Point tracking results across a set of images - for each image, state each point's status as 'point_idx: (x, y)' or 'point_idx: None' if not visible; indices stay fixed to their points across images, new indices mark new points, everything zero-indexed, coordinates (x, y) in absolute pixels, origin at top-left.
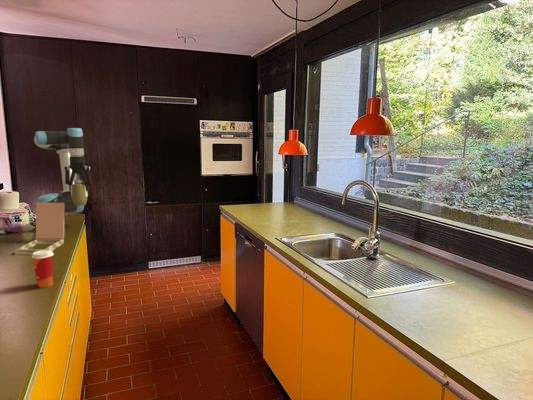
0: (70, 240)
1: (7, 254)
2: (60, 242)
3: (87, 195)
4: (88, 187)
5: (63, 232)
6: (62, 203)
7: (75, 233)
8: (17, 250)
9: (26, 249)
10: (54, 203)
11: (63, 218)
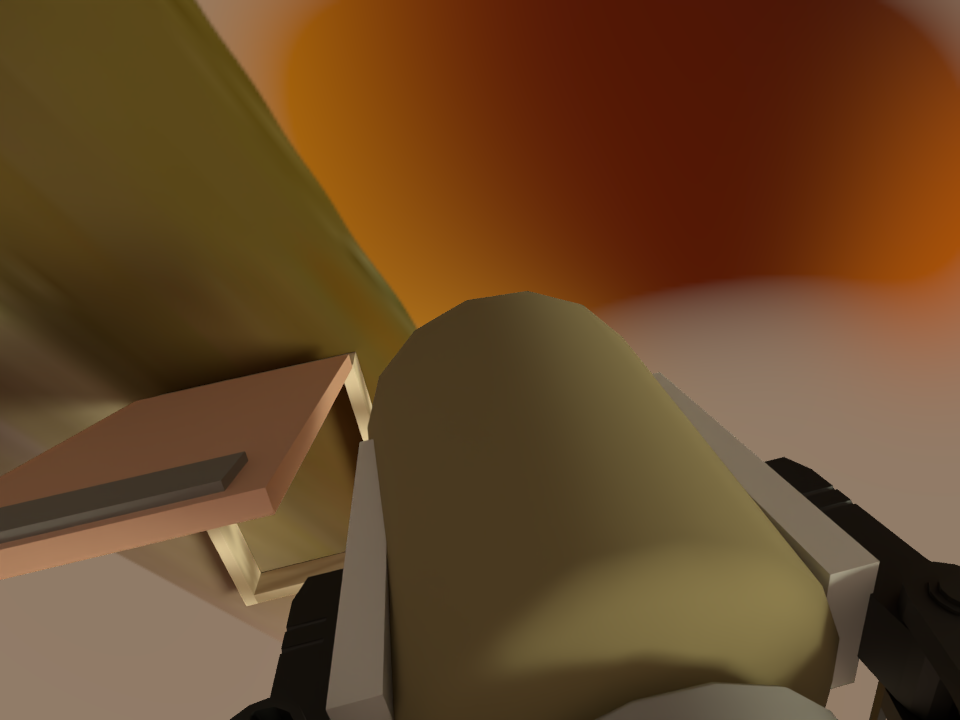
0: (340, 266)
1: (204, 587)
2: (367, 402)
3: (668, 388)
4: (865, 528)
5: (345, 378)
6: (260, 511)
7: (193, 14)
8: (263, 599)
9: (303, 582)
10: (129, 543)
11: (323, 421)
